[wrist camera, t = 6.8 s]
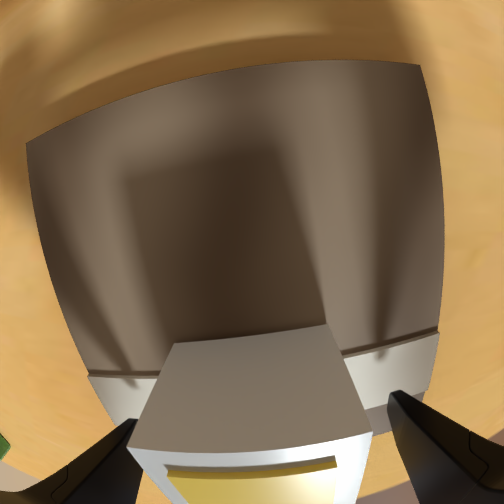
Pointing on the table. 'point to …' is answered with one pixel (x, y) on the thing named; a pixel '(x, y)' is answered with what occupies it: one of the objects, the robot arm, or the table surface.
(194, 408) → the block
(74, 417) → the table surface
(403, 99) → the subfloor board
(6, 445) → the ink box
